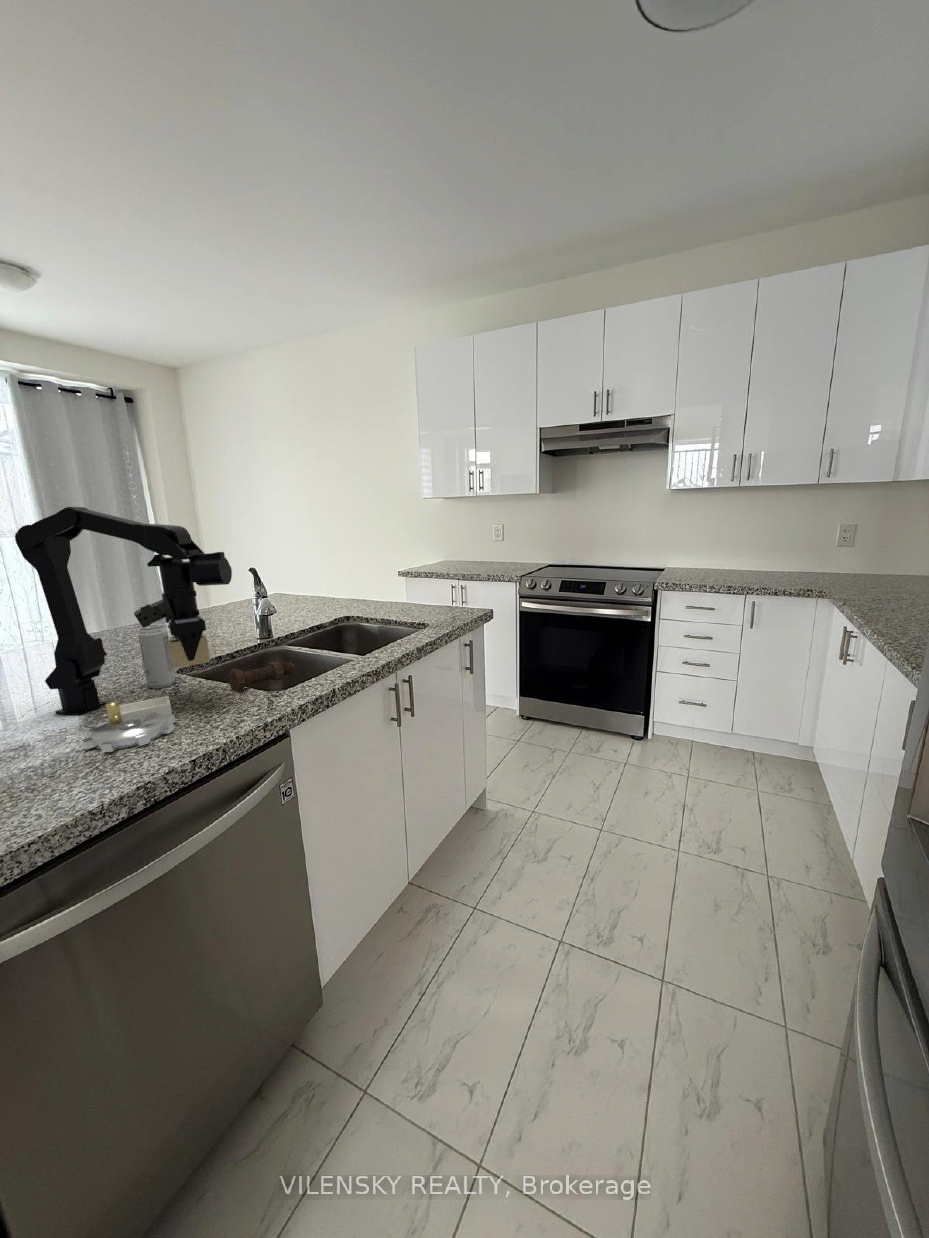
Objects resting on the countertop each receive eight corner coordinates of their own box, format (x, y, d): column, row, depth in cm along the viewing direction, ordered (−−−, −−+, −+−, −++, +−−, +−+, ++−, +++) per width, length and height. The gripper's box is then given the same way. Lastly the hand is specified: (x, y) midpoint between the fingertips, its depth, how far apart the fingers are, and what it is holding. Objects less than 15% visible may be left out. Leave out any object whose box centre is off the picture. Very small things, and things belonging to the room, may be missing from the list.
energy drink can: (149, 684, 124) (138, 625, 121) (176, 679, 127) (166, 622, 124) (146, 691, 119) (135, 630, 116) (175, 686, 121) (165, 626, 118)
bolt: (295, 681, 127) (236, 697, 116) (285, 669, 130) (227, 683, 119) (299, 664, 125) (239, 679, 113) (289, 652, 127) (230, 665, 116)
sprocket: (114, 759, 84) (107, 727, 83) (66, 744, 91) (60, 714, 89) (192, 725, 97) (188, 697, 96) (146, 714, 103) (141, 688, 102)
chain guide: (114, 726, 99) (112, 715, 98) (114, 716, 104) (113, 706, 103) (172, 713, 104) (170, 703, 104) (170, 705, 109) (168, 695, 109)
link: (173, 668, 104) (168, 639, 103) (172, 664, 107) (167, 636, 106) (210, 661, 108) (205, 633, 107) (208, 658, 111) (203, 630, 110)
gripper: (132, 586, 108) (145, 656, 111) (133, 596, 92) (148, 677, 96) (190, 581, 113) (201, 647, 117) (200, 589, 98) (212, 665, 101)
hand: (190, 658), depth 107 cm, fingers closed on link, 3 cm apart
